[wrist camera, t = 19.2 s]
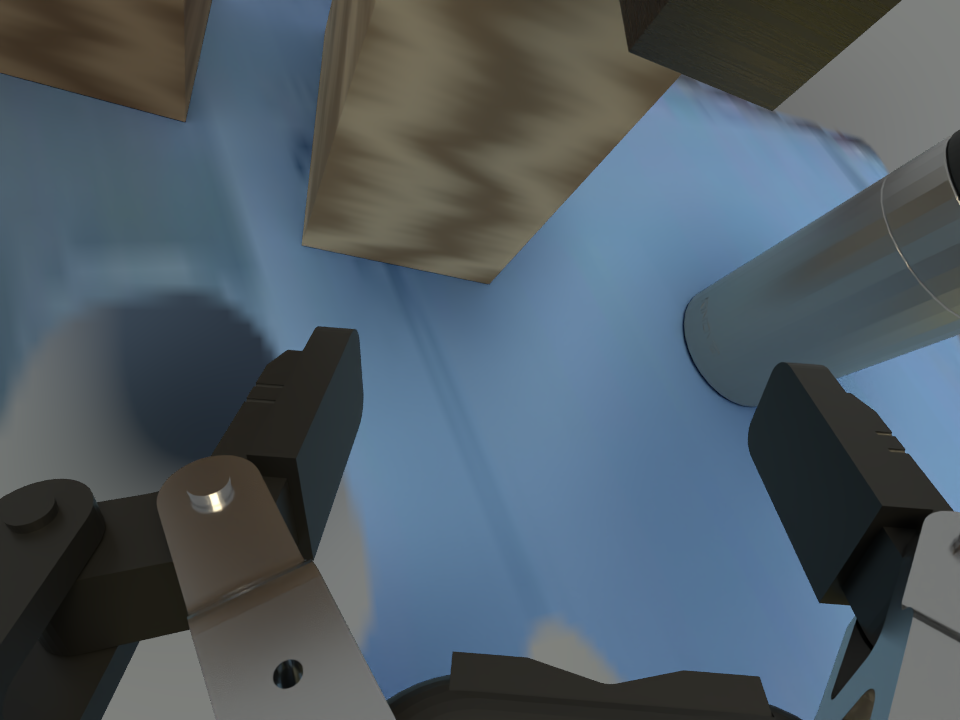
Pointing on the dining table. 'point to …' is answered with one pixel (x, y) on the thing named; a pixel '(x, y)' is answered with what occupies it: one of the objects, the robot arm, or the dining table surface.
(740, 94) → the block
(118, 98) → the tall stand
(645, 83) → the pin tray stand
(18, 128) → the dining table surface
